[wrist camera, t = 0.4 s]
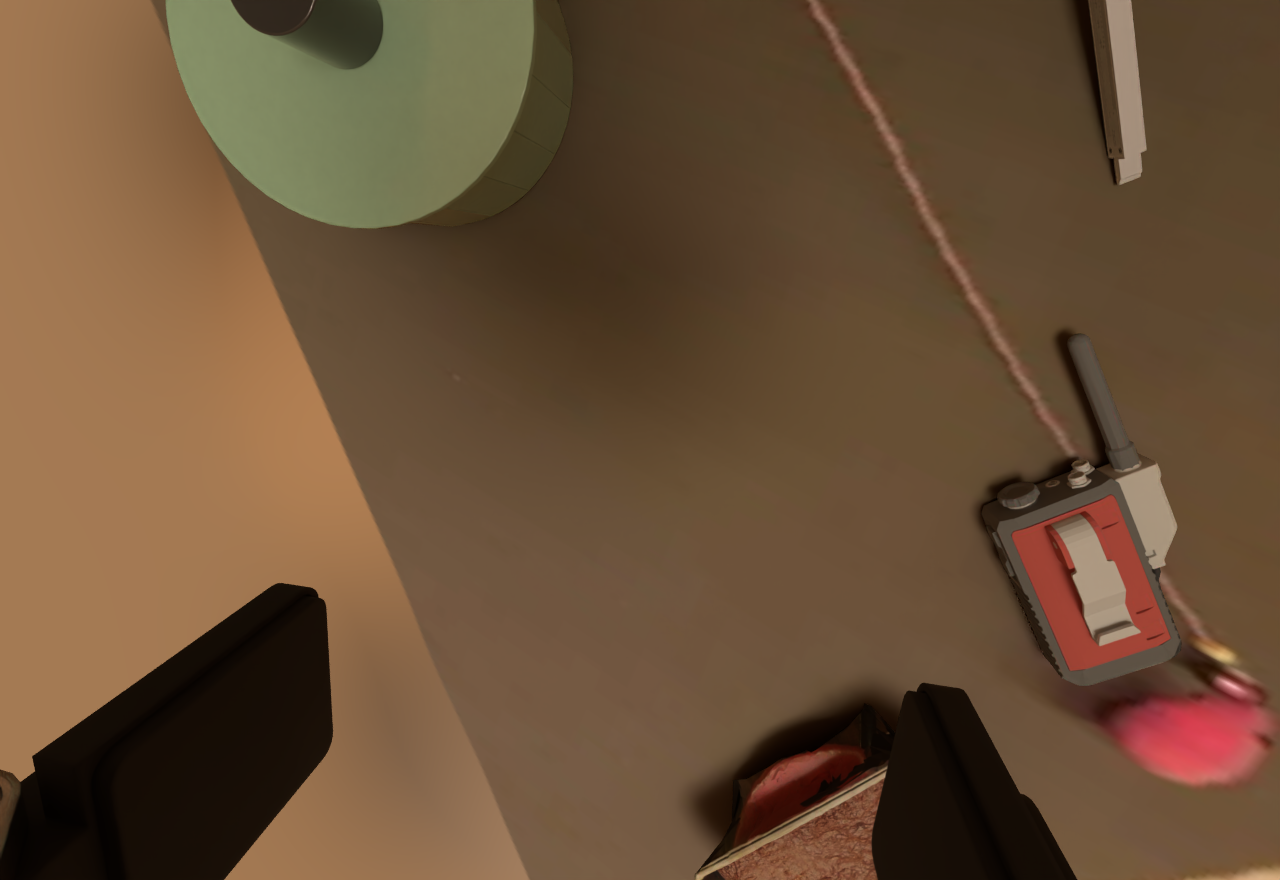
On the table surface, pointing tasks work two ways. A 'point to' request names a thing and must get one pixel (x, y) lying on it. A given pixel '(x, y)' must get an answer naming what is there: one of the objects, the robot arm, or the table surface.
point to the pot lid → (357, 97)
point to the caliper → (1118, 85)
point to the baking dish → (809, 811)
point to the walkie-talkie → (1091, 551)
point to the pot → (525, 129)
